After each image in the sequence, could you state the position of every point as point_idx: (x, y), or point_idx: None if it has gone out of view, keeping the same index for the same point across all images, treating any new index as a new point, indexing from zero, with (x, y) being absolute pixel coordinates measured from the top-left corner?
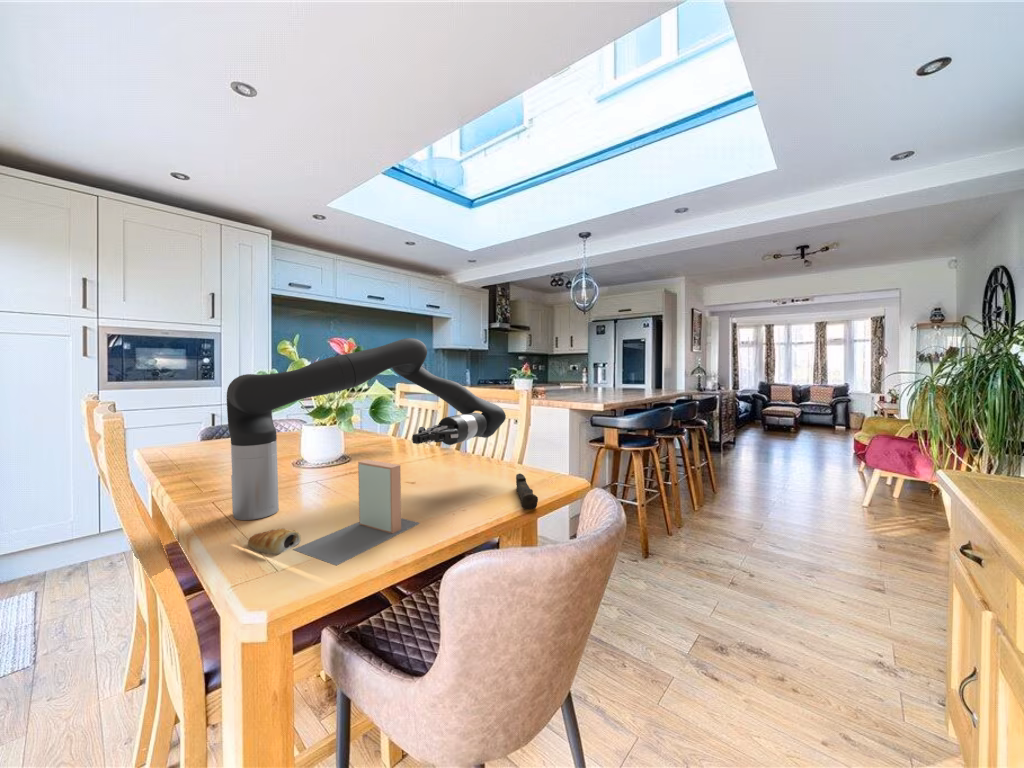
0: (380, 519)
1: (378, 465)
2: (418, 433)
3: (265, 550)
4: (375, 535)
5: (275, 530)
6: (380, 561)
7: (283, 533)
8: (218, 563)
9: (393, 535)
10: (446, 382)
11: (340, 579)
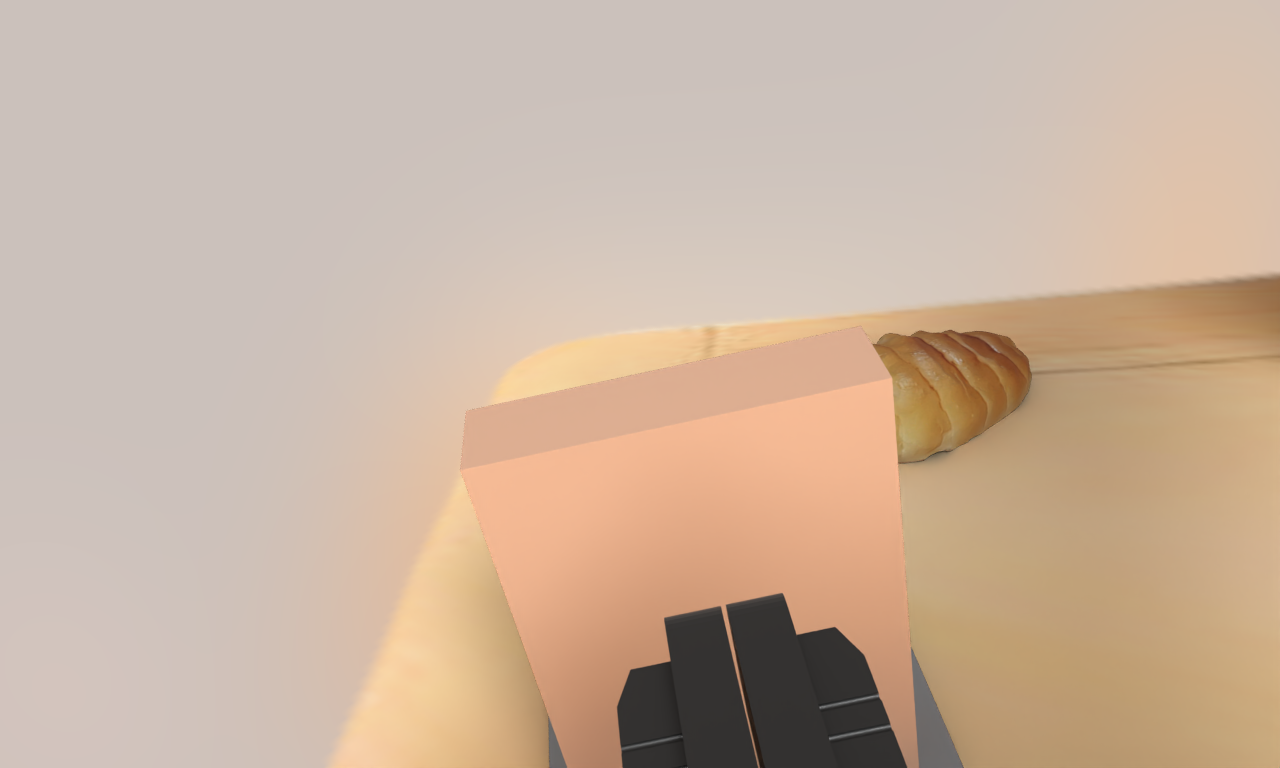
0: None
1: (617, 379)
2: (800, 706)
3: None
4: None
5: (916, 352)
6: (426, 611)
7: None
8: (913, 312)
9: (562, 756)
10: None
11: (463, 488)
